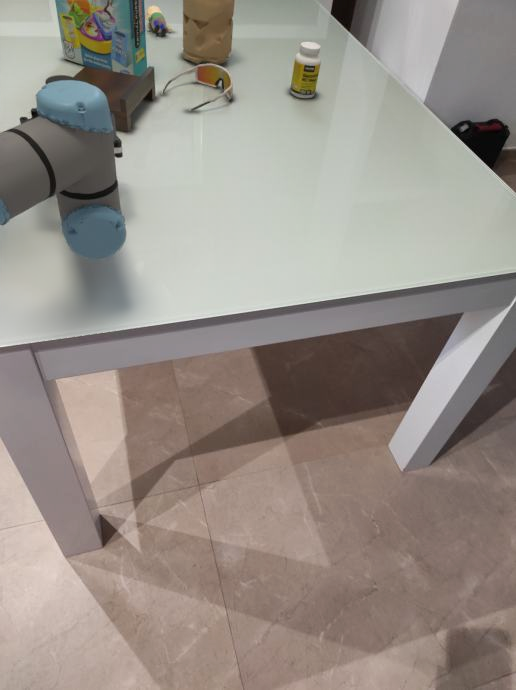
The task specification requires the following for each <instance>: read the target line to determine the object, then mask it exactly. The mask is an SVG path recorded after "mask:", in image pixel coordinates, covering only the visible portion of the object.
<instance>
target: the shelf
mask: <svg viewBox="0 0 516 690" xmlns="http://www.w3.org/2000/svg"><path fill="white" fill-rule="evenodd" d="M155 75H156V74H155V66H150V65H149V66H147V69H146V70H145V71H144V72H143V74H142V75H141V76H135V75H130V74H125V73H119V72H114V71H109V70H103V69H98V68H93V67H88V66H85V65H84V66H83V68H81V70H80V71H78V72H77V73H76V74H75V75H73V76H72V77H73V78H75V79H76V80H77V81H82V82H86V83H88V84H90V85H93V86H96V87H97V88H99V89H100V90H101V91H102V92H103V93H104V94H105V96H106V98H107V100H108V105H109V109H110V113H113V114H114V117H115V126H116V131H119V132H126V133H129V132H130V130H131V129H132V120H131V119H132V118H131V115H132V113H134V111H135V110H136V109H137V107H138V106H139V105H140V103H142V101H143V100H147V101H154V100H155V99H156V76H155Z"/></svg>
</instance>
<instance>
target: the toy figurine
mask: <svg viewBox="0 0 516 690" xmlns="http://www.w3.org/2000/svg"><path fill="white" fill-rule="evenodd" d="M145 21H148V23H149V26H150V27H151V28H152V30H153V32H154V33H155V34H160V36H161V37H163V38H164V37H165V36H166V34H167V32H168V33H171V32H172V31H173V28H172V27H171V26H169V25H168V24H167V20H166V18H165V17H164V14H163V13H162V11H161V9H160V8H159V6H157V5H151V6H149V7H148V8H147V11H146V14H145Z"/></svg>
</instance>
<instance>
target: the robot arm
mask: <svg viewBox="0 0 516 690" xmlns="http://www.w3.org/2000/svg"><path fill="white" fill-rule="evenodd" d="M35 99H36V107H32V108H31V109H30V115H31V117H30V118H28V117H27V116H20V117H19V123H20V124H18V125H15V126H13V127H11V128H9V129H6V130H3V131H1V132H0V226H5V225H7V224H8V223H9V222H10V220H12V219H14V218H16V217H17V216H20V215H21V214H23V213H24V212H26V211H28V210H30V209H32V208H34V207H35V206H37V205H39V204H41V203H42V202H45V201H46V200H48V199H50V198H52V197H54V196H56V202H57V206H58V210H59V216H60V220H61V221H60V222H61V224H60V225H61V226H60V227H61V231H62V233H63V234H62V235H64V239H65V242H66V244H67V246H68V247H69V249H70V250H71V251H72V252H73V253H74V254H76V255H77V256H80V257H82V258H84V259H88V260H101V259H106V258H109V257H112V256H113V255H115V254H117V253H118V252H119V251H120V250H121V249H122V248H123V246H124V245H125V242H126V240H127V228H126V218H125V215H123V211H122V208H121V198H120V190H119V189H120V188H119V181H118V176H117V166H116V164H117V163H116V158H117V159H121V158H123V156H124V154H123V141H122V139H121V138H120V137H119V136H118V135H117V130H116V126H115V117H114V114H113V113H110V109H109V105H108V100H107V98H106V96H105V94H104V93H103V92H102V91H101V90H100V89H99V88H97V87H96V86H93V85H90V84H88V83H86V82H82V81H75V80H62V81H55V82H51V83H48V84H46V83H45V84H44V85H43V86H42V87H41V88H40V89H39V90H38V91H37V93H36V94H35Z"/></svg>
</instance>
